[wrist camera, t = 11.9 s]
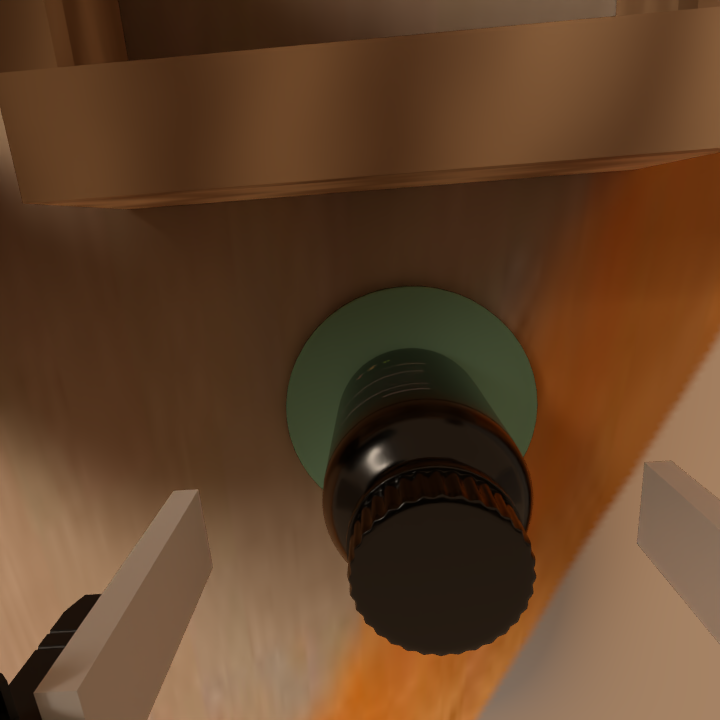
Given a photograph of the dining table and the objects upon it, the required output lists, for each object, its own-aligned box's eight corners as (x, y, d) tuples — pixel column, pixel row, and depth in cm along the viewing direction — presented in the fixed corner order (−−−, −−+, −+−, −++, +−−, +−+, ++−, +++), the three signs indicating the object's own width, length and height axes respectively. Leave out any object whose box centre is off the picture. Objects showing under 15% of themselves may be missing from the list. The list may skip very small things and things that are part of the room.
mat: (301, 521, 27) (299, 528, 26) (274, 295, 24) (272, 297, 23) (531, 510, 26) (535, 516, 26) (535, 276, 23) (539, 278, 22)
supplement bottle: (506, 432, 24) (627, 622, 13) (386, 500, 26) (398, 730, 14) (433, 314, 23) (495, 407, 11) (310, 390, 24) (252, 547, 13)
